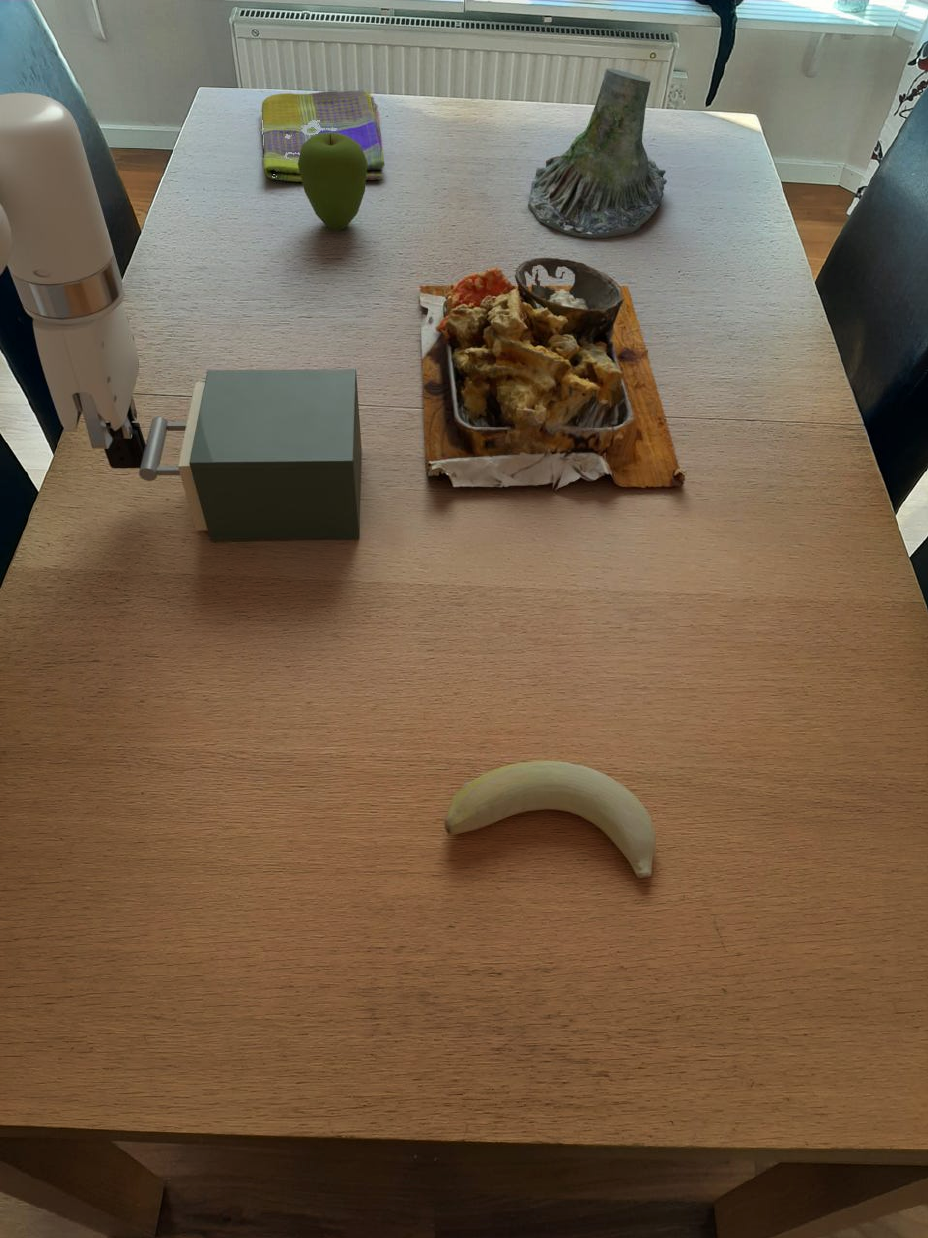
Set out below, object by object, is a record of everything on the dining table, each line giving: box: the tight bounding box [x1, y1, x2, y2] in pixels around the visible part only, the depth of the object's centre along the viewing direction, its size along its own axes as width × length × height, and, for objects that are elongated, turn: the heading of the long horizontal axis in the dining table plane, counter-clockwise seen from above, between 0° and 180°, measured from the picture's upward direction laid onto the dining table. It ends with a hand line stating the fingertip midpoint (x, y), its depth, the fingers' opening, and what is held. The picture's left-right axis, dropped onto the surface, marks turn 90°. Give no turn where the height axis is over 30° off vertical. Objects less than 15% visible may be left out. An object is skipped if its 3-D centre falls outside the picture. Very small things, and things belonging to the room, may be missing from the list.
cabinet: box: [189, 368, 363, 543], centre depth 83 cm, size 14×13×10 cm
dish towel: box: [260, 89, 385, 183], centre depth 131 cm, size 18×24×3 cm
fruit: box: [443, 760, 656, 879], centre depth 66 cm, size 7×15×3 cm, turn 79°
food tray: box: [418, 257, 687, 493], centre depth 95 cm, size 35×26×11 cm
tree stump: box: [527, 68, 668, 239], centre depth 120 cm, size 18×20×18 cm
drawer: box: [138, 381, 208, 531], centre depth 83 cm, size 17×11×8 cm
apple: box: [298, 132, 368, 232], centre depth 113 cm, size 9×8×12 cm
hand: (130, 462), depth 83 cm, fingers closed
